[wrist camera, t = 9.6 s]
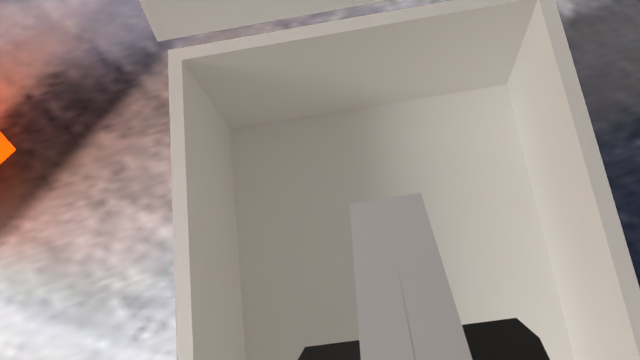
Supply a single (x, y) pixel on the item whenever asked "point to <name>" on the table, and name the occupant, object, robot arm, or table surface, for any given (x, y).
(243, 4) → the mailer lid
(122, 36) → the table surface
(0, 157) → the orange juice
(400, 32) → the box
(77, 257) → the table surface
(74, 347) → the table surface
